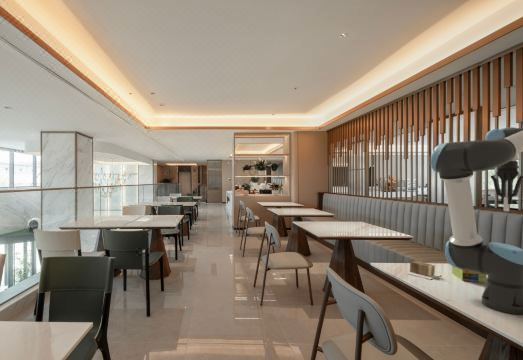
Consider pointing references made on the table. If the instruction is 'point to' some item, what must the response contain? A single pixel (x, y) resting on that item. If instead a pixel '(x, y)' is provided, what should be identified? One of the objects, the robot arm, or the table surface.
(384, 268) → the table surface
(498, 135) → the robot arm
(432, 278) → the grey mat
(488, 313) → the table surface
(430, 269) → the bronze block
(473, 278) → the protein box
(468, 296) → the table surface
